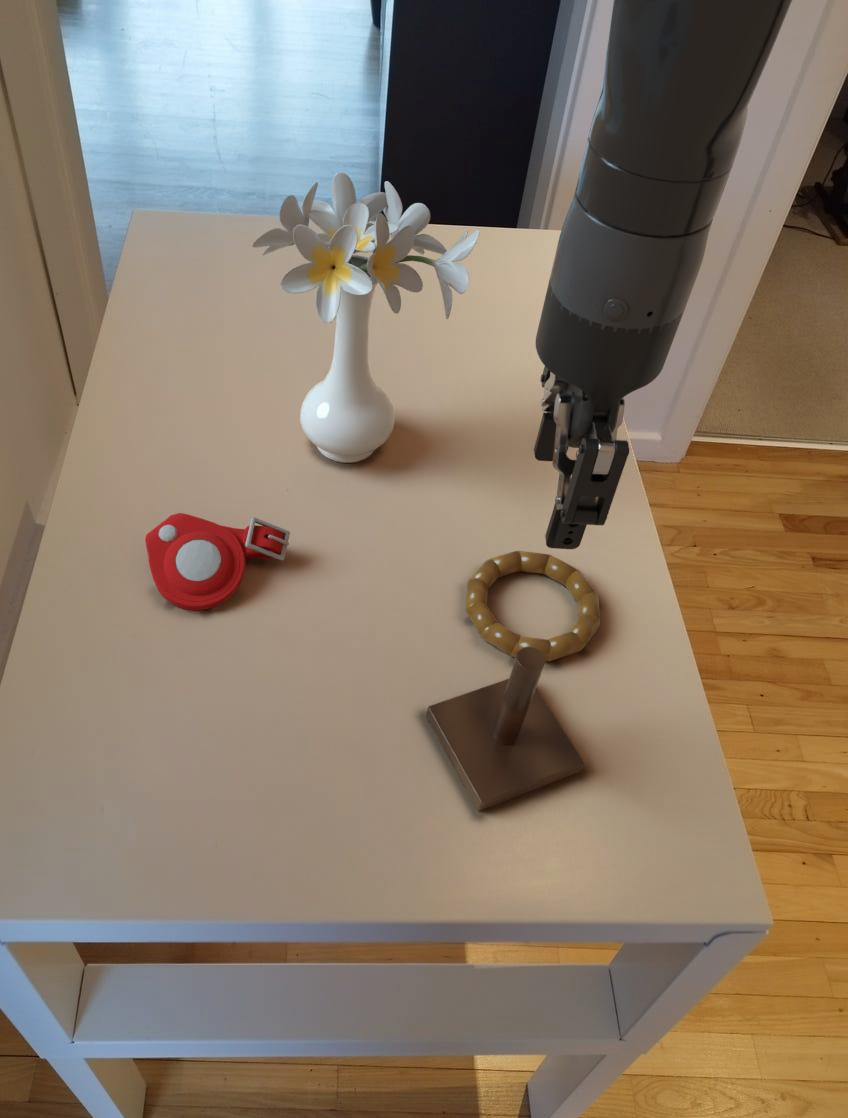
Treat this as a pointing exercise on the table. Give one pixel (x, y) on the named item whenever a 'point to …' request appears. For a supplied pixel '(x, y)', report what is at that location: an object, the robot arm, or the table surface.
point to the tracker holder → (207, 557)
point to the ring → (536, 564)
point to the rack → (505, 736)
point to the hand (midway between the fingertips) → (554, 499)
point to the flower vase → (357, 300)
